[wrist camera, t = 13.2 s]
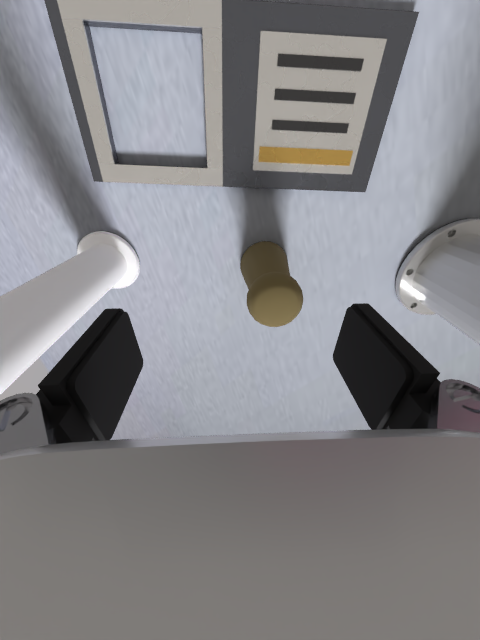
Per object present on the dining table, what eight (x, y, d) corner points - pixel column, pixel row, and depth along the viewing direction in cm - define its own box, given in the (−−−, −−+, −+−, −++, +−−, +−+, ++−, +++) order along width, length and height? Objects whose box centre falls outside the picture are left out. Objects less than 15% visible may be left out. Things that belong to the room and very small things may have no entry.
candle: (95, 288, 30) (-211, 550, 9) (69, 233, 26) (-551, 472, 6) (147, 284, 30) (-49, 541, 9) (128, 228, 26) (-285, 454, 5)
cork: (287, 283, 30) (310, 332, 21) (243, 289, 31) (246, 340, 22) (287, 237, 27) (313, 272, 18) (237, 244, 27) (238, 282, 18)
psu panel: (412, 17, 18) (421, 9, 17) (361, 191, 25) (366, 192, 24) (48, -7, 17) (37, -18, 16) (97, 180, 24) (92, 181, 23)
